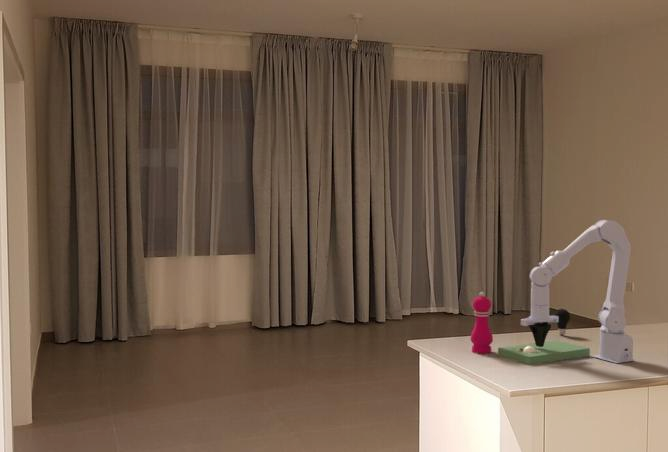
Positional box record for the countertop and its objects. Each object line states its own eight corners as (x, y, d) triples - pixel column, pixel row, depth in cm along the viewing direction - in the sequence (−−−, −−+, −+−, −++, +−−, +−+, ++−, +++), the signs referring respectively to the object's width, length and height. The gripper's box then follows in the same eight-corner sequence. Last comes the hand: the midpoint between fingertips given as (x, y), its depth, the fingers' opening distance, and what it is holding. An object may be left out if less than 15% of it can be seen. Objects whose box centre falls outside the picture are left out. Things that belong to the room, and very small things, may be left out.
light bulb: (567, 334, 251) (568, 307, 250) (571, 337, 245) (572, 310, 245) (551, 333, 251) (552, 307, 251) (555, 337, 245) (555, 310, 245)
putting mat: (589, 355, 215) (589, 348, 215) (529, 364, 203) (529, 356, 203) (556, 347, 228) (556, 340, 228) (498, 355, 216) (498, 347, 216)
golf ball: (531, 363, 211) (540, 354, 211) (526, 357, 209) (535, 348, 209) (524, 356, 215) (532, 347, 214) (518, 350, 212) (527, 341, 212)
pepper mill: (493, 354, 217) (493, 293, 217) (470, 353, 219) (470, 293, 218) (492, 349, 224) (492, 290, 224) (470, 348, 226) (470, 290, 225)
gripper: (547, 300, 221) (546, 341, 221) (514, 304, 214) (513, 346, 215) (563, 303, 215) (563, 345, 215) (530, 307, 208) (529, 350, 209)
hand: (539, 346), depth 215 cm, fingers closed
